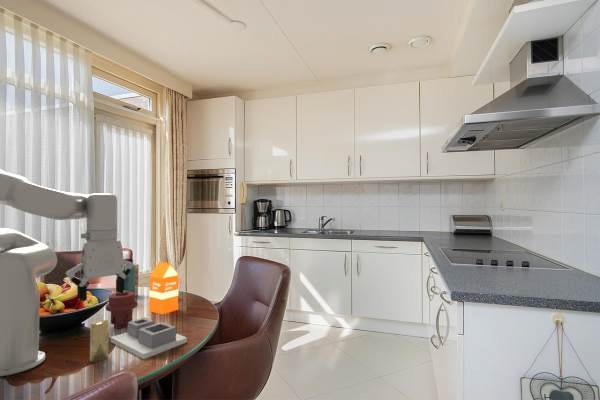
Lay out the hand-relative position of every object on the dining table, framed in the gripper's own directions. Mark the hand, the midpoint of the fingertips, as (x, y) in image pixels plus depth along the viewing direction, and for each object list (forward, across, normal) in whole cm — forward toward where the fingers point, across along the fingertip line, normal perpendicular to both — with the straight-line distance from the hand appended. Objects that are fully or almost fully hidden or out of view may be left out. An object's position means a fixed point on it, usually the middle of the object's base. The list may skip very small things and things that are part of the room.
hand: (102, 296), depth 90 cm
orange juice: (+18, +34, +26) cm, 46 cm away
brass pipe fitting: (+18, 0, 0) cm, 18 cm away
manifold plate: (+18, +14, 0) cm, 22 cm away
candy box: (+18, +36, +60) cm, 73 cm away
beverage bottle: (+18, +30, +48) cm, 60 cm away
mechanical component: (+18, +16, +22) cm, 32 cm away
